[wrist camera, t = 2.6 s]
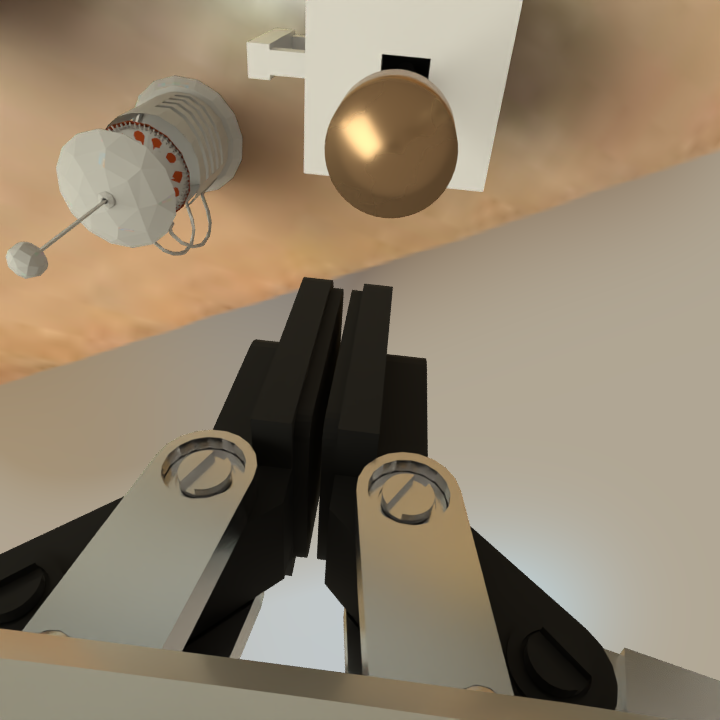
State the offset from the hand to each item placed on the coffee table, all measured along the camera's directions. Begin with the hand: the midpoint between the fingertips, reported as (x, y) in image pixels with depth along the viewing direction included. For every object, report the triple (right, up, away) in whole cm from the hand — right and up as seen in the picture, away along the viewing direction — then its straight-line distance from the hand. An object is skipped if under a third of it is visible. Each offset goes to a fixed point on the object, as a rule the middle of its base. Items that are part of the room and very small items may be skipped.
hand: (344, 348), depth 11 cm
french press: (-14, +19, +38) cm, 45 cm away
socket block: (+2, +24, +32) cm, 40 cm away
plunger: (+3, +18, +24) cm, 30 cm away
